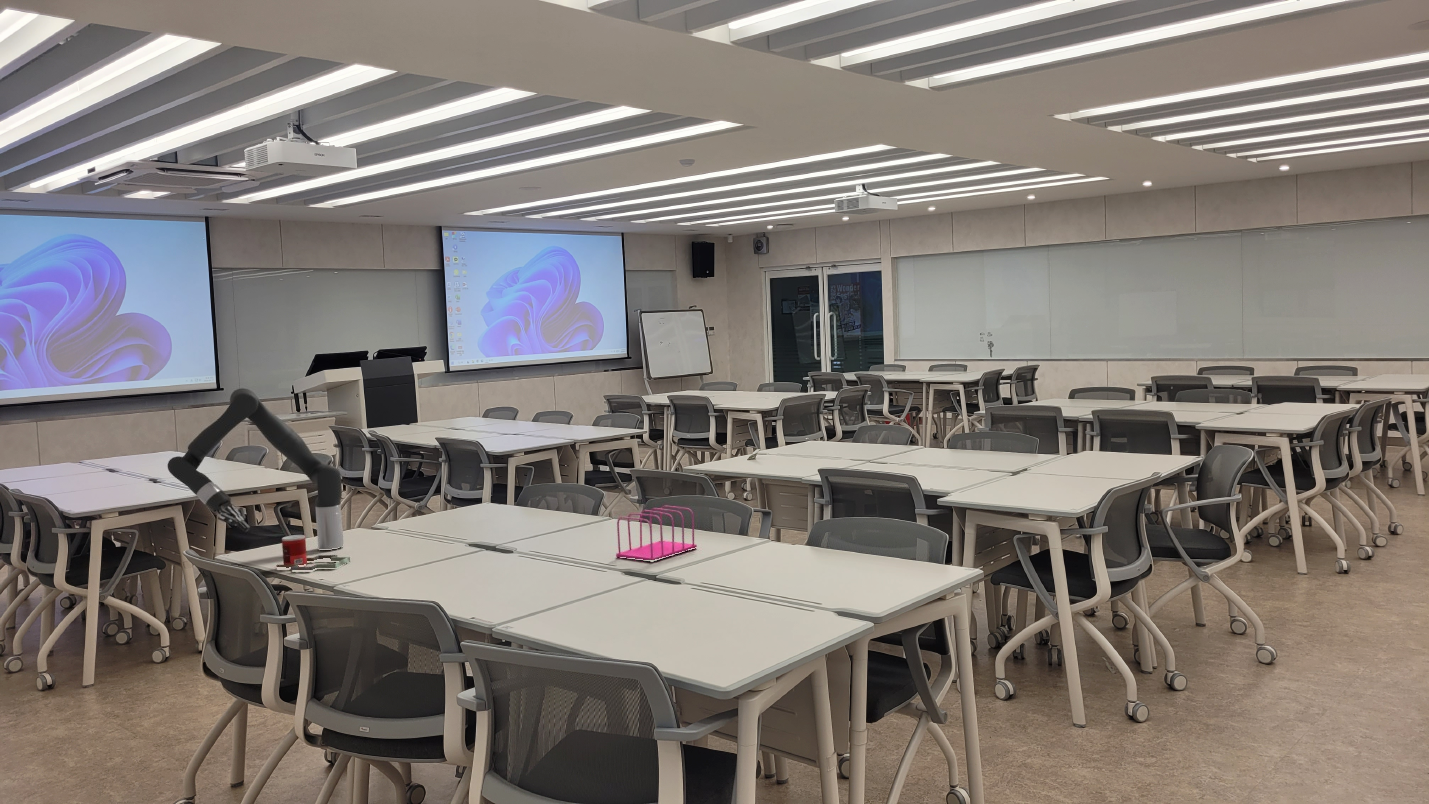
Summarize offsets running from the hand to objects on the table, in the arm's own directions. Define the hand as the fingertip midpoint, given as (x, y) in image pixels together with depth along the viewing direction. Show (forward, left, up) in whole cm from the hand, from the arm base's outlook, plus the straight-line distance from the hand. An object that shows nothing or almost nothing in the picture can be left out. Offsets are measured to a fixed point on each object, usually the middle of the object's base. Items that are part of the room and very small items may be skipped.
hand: (247, 529), depth 354 cm
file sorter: (-12, +148, -14) cm, 150 cm away
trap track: (0, +24, -14) cm, 28 cm away
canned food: (0, +17, -14) cm, 22 cm away
